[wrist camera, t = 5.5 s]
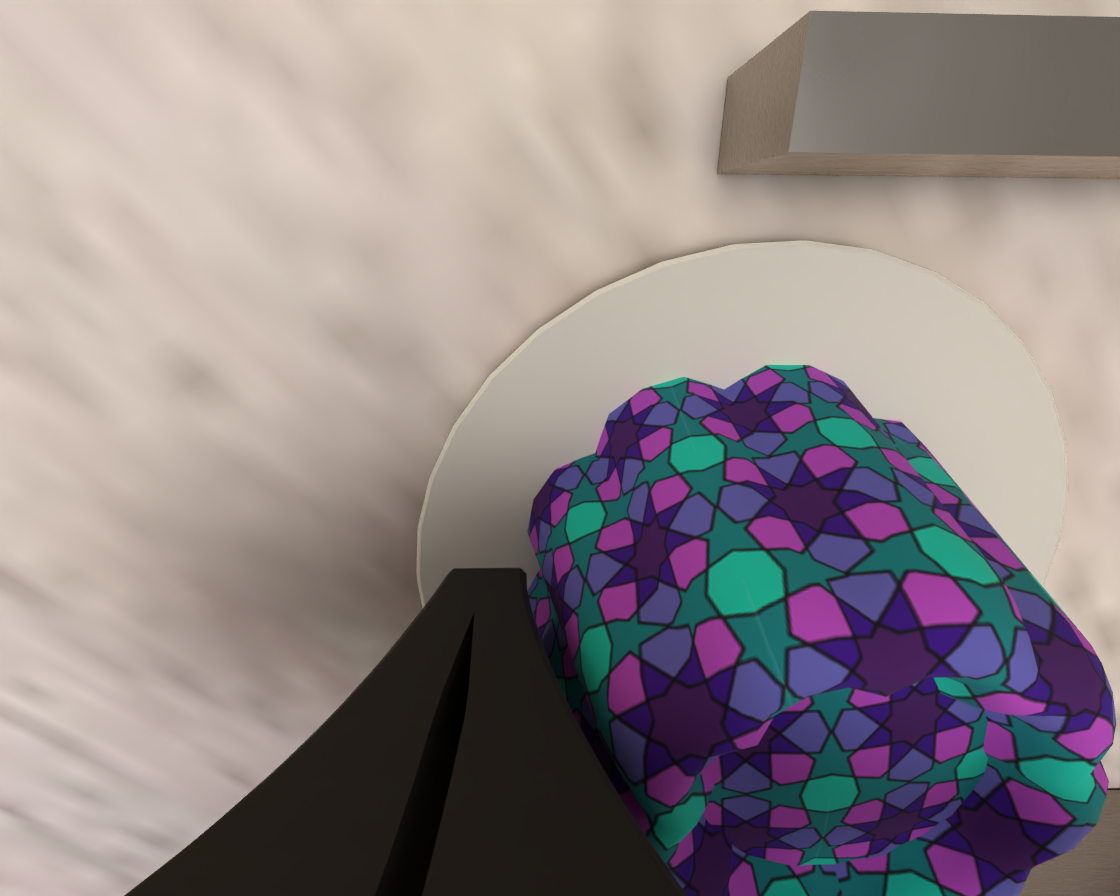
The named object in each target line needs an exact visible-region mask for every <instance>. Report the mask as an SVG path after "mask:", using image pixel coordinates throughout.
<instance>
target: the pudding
mask: <svg viewBox="0 0 1120 896" xmlns="http://www.w3.org/2000/svg"><path fill="white" fill-rule="evenodd" d="M1067 494H1068V478H1067V457H1066V439H1065V436H1064V432H1063V429H1062V425H1061V422H1060V418H1059V415H1058V411H1057V408H1056V404H1055V401H1054V397H1053V394H1052V391H1051V389H1050V387H1049V385H1048V384H1047V382H1046V380H1045V379H1044V377H1043V375H1042V373H1041V372H1040V370H1039V368H1038V366H1037V365H1036V363H1035V361H1034V359H1033V358H1032V356H1031V354H1030V352H1029V351H1028V349H1027V347H1026V345H1025V344H1024V343H1023V342H1022V341H1021V340H1020V339H1019V338H1018V337H1017V336H1016V335H1015V334H1014V333H1013V332H1012V331H1011V330H1010V329H1009V328H1008V326H1007V325H1006V324H1005V323H1004V322H1003V321H1002V320H1001V319H1000V318H999V317H998V316H997V315H996V314H995V313H994V312H993V311H992V310H991V309H990V308H989V307H988V306H987V305H986V304H985V303H983V302H982V301H980V300H979V299H977V298H976V297H974V296H972V295H971V294H969V293H968V292H966V291H965V290H963V289H961V288H960V287H958V286H957V285H955V284H954V283H952V282H950V281H949V280H947V279H946V278H944V277H943V276H941V275H939V274H938V273H936V272H935V271H932V270H929V269H926V268H923V267H921V266H918V265H915V264H912V263H909V262H907V261H904V260H901V259H898V258H895V257H893V256H890V255H887V254H884V253H881V252H879V251H876V250H872V249H865V248H858V247H851V246H843V245H836V244H829V243H821V242H814V241H807V240H801V241H783V242H765V243H747V244H732V245H728V246H724V247H720V248H716V249H712V250H708V251H703V252H699V253H695V254H691V255H687V256H683V257H679V258H674V259H670V260H666V261H662V262H660V263H658V264H655V265H653V266H651V267H648V268H646V269H644V270H642V271H639V272H637V273H635V274H632V275H630V276H628V277H626V278H623V279H621V280H619V281H616V282H614V283H612V284H610V285H607V286H605V287H603V288H600V289H598V290H596V291H594V292H593V293H591V294H590V295H588V296H587V297H585V298H584V299H582V300H581V301H579V302H578V303H576V304H575V305H573V306H572V307H570V308H569V309H567V310H566V311H564V312H563V313H561V314H560V315H558V316H557V317H555V318H554V319H552V320H551V321H549V322H548V323H546V324H545V325H543V326H542V327H540V328H539V329H537V330H536V331H535V332H534V333H533V334H532V335H531V336H530V337H529V338H528V339H527V340H526V341H525V342H524V343H523V344H522V345H521V346H520V347H518V348H517V349H516V350H515V351H514V352H513V353H512V354H511V355H510V356H509V357H508V358H507V359H506V360H505V361H504V362H503V363H502V364H501V365H500V366H499V367H498V368H497V369H496V370H494V371H493V372H492V373H491V374H490V375H489V377H488V378H487V379H486V381H485V382H484V384H483V385H482V386H481V388H480V389H479V391H478V392H477V393H476V395H475V396H474V397H473V399H472V400H471V402H470V403H469V404H468V406H467V407H466V409H465V410H464V411H463V413H462V414H461V416H460V417H459V418H458V420H457V421H456V422H455V424H454V425H453V427H452V430H451V432H450V434H449V436H448V438H447V440H446V443H445V445H444V447H443V449H442V451H441V453H440V456H439V458H438V460H437V462H436V464H435V466H434V469H433V471H432V473H431V475H430V477H429V481H428V486H427V490H426V494H425V498H424V503H423V507H422V511H421V515H420V520H419V524H418V528H417V568H416V578H417V583H418V589H419V594H420V599H421V605H422V609H423V608H424V606H425V605H426V604H427V602H428V601H429V600H430V598H431V597H432V595H433V594H434V593H435V591H436V590H437V588H438V587H439V586H440V584H441V583H442V581H443V580H444V578H445V577H446V576H447V574H448V573H449V572H450V571H451V570H453V569H454V568H521V569H522V570H523V571H524V572H525V573H527V591H528V596H529V601H530V605H531V609H532V613H533V616H534V620H535V623H536V626H537V629H538V632H539V635H540V638H541V640H542V643H543V646H544V648H545V651H546V653H547V656H548V659H549V661H550V664H551V666H552V669H553V671H554V673H555V676H556V678H557V680H558V682H559V685H560V687H561V689H562V691H563V693H564V695H565V697H566V700H567V702H568V704H569V706H570V708H571V710H572V712H573V714H574V716H575V718H576V720H577V722H578V724H579V726H580V728H581V730H582V731H583V733H584V735H585V737H586V739H587V741H588V743H589V744H590V746H591V748H592V750H593V751H594V753H595V755H596V757H597V759H598V760H599V762H600V764H601V766H602V767H603V769H604V771H605V772H606V774H607V776H608V777H609V779H610V781H611V782H612V784H613V786H614V787H615V789H616V790H617V792H618V794H619V795H620V797H621V799H622V800H623V802H624V804H625V805H626V807H627V808H628V810H629V811H630V813H631V814H632V816H633V817H634V819H635V820H636V822H637V823H638V824H639V826H640V827H641V829H642V830H643V832H644V833H645V835H646V836H647V838H648V839H649V841H650V842H651V844H652V845H653V847H654V848H655V850H656V851H657V852H658V854H659V855H660V857H661V858H662V860H663V861H664V863H665V864H666V866H667V867H668V869H669V870H670V872H671V873H672V875H673V876H674V878H675V879H676V880H677V882H678V883H679V885H680V886H681V887H682V889H683V890H684V891H685V893H686V894H687V895H688V896H1017V895H1018V894H1020V893H1021V891H1022V888H1023V886H1024V884H1025V882H1026V880H1027V878H1028V875H1029V873H1030V871H1031V869H1032V868H1034V867H1036V866H1038V865H1040V864H1042V863H1045V862H1047V861H1049V860H1051V859H1053V858H1055V857H1058V856H1060V855H1062V854H1064V853H1066V852H1068V851H1071V850H1073V849H1074V848H1075V847H1076V845H1077V844H1078V843H1079V842H1080V841H1081V840H1082V839H1083V838H1084V837H1085V836H1086V835H1087V834H1088V833H1089V832H1090V831H1091V830H1092V829H1093V828H1094V827H1095V826H1096V825H1097V822H1098V819H1099V816H1100V813H1101V811H1102V808H1103V805H1104V802H1105V799H1106V795H1107V789H1108V783H1109V781H1108V778H1107V776H1106V773H1105V771H1104V768H1103V766H1102V763H1101V761H1100V760H1101V759H1102V758H1103V756H1104V755H1105V754H1106V752H1107V751H1108V750H1109V748H1110V747H1111V746H1112V744H1113V739H1114V733H1115V727H1116V718H1115V709H1114V700H1113V692H1112V689H1111V687H1110V684H1109V682H1108V679H1107V676H1106V674H1105V671H1104V668H1103V666H1102V663H1101V662H1100V660H1099V658H1098V656H1097V654H1096V653H1095V651H1094V649H1093V647H1092V645H1091V644H1090V643H1089V642H1088V641H1087V639H1086V638H1085V637H1084V636H1083V635H1082V633H1081V632H1080V631H1079V630H1078V629H1077V627H1076V626H1075V625H1074V624H1073V623H1072V621H1071V620H1070V619H1069V618H1068V617H1067V615H1066V614H1065V613H1064V612H1063V611H1062V609H1061V608H1060V607H1059V606H1058V605H1057V603H1056V602H1055V601H1054V600H1053V599H1052V597H1051V596H1050V595H1049V594H1048V593H1047V591H1046V590H1045V589H1044V588H1043V587H1042V586H1043V584H1044V581H1045V578H1046V576H1047V573H1048V570H1049V568H1050V565H1051V562H1052V559H1053V557H1054V554H1055V551H1056V549H1057V546H1058V543H1059V540H1060V536H1061V530H1062V524H1063V518H1064V512H1065V506H1066V500H1067Z"/></svg>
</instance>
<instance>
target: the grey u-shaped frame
mask: <svg viewBox="0 0 1120 896" xmlns="http://www.w3.org/2000/svg"><path fill="white" fill-rule="evenodd" d="M717 174H789V175H872V176H956V177H1039V178H1120V17H1085V16H1036V15H987V14H938V13H890V12H841V11H810V12H808V13H807V14H806V15H805V16H803V17H802V18H801V19H800V20H798V21H797V22H796V23H795V24H794V25H792V26H791V27H790V28H789V29H787V30H786V31H785V32H784V33H782V34H781V35H780V36H779V37H777V38H776V39H775V40H774V41H773V42H771V43H770V44H769V45H768V46H766V47H765V48H764V49H763V50H761V51H760V52H759V53H758V54H756V55H755V56H754V57H753V58H752V59H750V60H749V61H748V62H747V63H745V64H744V65H743V66H742V67H740V68H739V69H738V70H737V71H735V72H734V73H733V74H732V75H731V76H729V77H728V83H727V92H726V101H725V110H724V119H723V128H722V137H721V146H720V155H719V164H718V173H717ZM1017 896H1120V790H1107V795H1106V799H1105V802H1104V805H1103V808H1102V811H1101V813H1100V816H1099V819H1098V822H1097V825H1096V826H1095V827H1094V828H1093V829H1092V830H1091V831H1090V832H1089V833H1088V834H1087V835H1086V836H1085V837H1084V838H1083V839H1082V840H1081V841H1080V842H1079V843H1078V844H1077V845H1076V847H1075V848H1074V849H1073V850H1071V851H1068V852H1066V853H1064V854H1062V855H1060V856H1058V857H1055V858H1053V859H1051V860H1049V861H1047V862H1045V863H1042V864H1040V865H1038V866H1036V867H1034V868H1032V869H1031V871H1030V873H1029V875H1028V878H1027V880H1026V882H1025V884H1024V886H1023V888H1022V891H1021V893H1020V894H1018V895H1017Z"/></svg>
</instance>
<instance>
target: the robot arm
mask: <svg viewBox="0 0 1120 896" xmlns="http://www.w3.org/2000/svg"><path fill="white" fill-rule="evenodd" d="M125 896H688V895H687V894H686V893H685V891H684V890H683V889H682V887H681V886H680V885H679V883H678V882H677V880H676V879H675V878H674V876H673V875H672V873H671V872H670V870H669V869H668V867H667V866H666V864H665V863H664V861H663V860H662V858H661V857H660V855H659V854H658V852H657V851H656V850H655V848H654V847H653V845H652V844H651V842H650V841H649V839H648V838H647V836H646V835H645V833H644V832H643V830H642V829H641V827H640V826H639V824H638V823H637V822H636V820H635V819H634V817H633V816H632V814H631V813H630V811H629V810H628V808H627V807H626V805H625V804H624V802H623V800H622V799H621V797H620V795H619V794H618V792H617V790H616V789H615V787H614V786H613V784H612V782H611V781H610V779H609V777H608V776H607V774H606V772H605V771H604V769H603V767H602V766H601V764H600V762H599V760H598V759H597V757H596V755H595V753H594V751H593V750H592V748H591V746H590V744H589V743H588V741H587V739H586V737H585V735H584V733H583V731H582V730H581V728H580V726H579V724H578V722H577V720H576V718H575V716H574V714H573V712H572V710H571V708H570V706H569V704H568V702H567V700H566V697H565V695H564V693H563V691H562V689H561V687H560V685H559V682H558V680H557V678H556V676H555V673H554V671H553V669H552V666H551V664H550V661H549V659H548V656H547V653H546V651H545V648H544V646H543V643H542V640H541V638H540V635H539V632H538V629H537V626H536V623H535V620H534V616H533V613H532V609H531V605H530V601H529V596H528V591H527V573H525V572H524V571H523V570H522V569H521V568H454V569H453V570H451V571H450V572H449V573H448V574H447V576H446V577H445V578H444V580H443V581H442V583H441V584H440V586H439V587H438V588H437V590H436V591H435V593H434V594H433V595H432V597H431V598H430V600H429V601H428V602H427V604H426V605H425V606H424V608H423V609H422V610H421V612H420V613H419V614H418V616H417V617H416V618H415V620H414V621H413V622H412V623H411V625H410V626H409V627H408V628H407V630H406V631H405V632H404V633H403V635H402V636H401V637H400V638H399V639H398V641H397V642H396V643H395V644H394V646H393V647H392V648H391V649H390V651H389V652H388V653H387V654H386V655H385V657H384V658H383V659H382V660H381V661H380V663H379V664H378V665H377V666H376V667H375V668H374V669H373V670H372V672H371V673H370V674H369V675H368V676H367V677H366V678H365V679H364V680H363V682H362V683H361V684H360V685H359V686H358V687H357V688H356V689H355V690H354V691H353V693H352V694H351V695H350V696H349V697H348V698H347V699H346V700H345V701H344V703H343V704H342V705H341V706H340V707H339V708H338V709H337V710H336V711H335V712H334V713H333V714H332V715H331V716H330V717H329V718H328V719H327V720H326V721H325V722H324V723H323V724H322V725H321V726H320V727H319V728H318V729H317V730H316V731H315V732H314V733H313V734H312V735H311V736H310V737H309V738H308V739H307V740H306V741H305V742H304V743H303V744H302V745H301V746H300V747H299V748H298V749H297V750H296V751H295V752H294V753H293V754H292V755H291V756H290V757H289V758H288V759H286V760H285V761H284V762H283V763H282V764H281V765H280V766H279V767H278V768H277V769H276V770H275V771H274V772H273V773H271V774H270V775H269V776H268V777H267V778H266V779H265V780H264V781H262V782H261V783H260V784H259V785H258V786H257V787H256V788H255V789H253V790H252V791H251V792H250V793H249V794H248V795H247V796H245V797H244V798H243V799H242V800H241V801H240V802H239V803H238V804H236V805H235V806H234V807H233V808H232V809H231V810H230V811H229V812H227V813H226V814H225V815H224V816H223V817H222V818H221V819H219V820H218V821H217V822H216V823H215V824H213V825H212V826H211V827H210V828H209V829H207V830H206V831H205V832H204V833H203V834H202V835H200V836H199V837H198V838H197V839H196V840H194V841H193V842H192V843H191V844H189V845H188V846H187V847H186V848H185V849H183V850H182V851H181V852H180V853H178V854H177V855H176V856H175V857H173V858H172V859H171V860H169V861H168V862H167V863H166V864H164V865H163V866H162V867H161V868H159V869H158V870H157V871H155V872H154V873H153V874H152V875H150V876H149V877H148V878H146V879H145V880H144V881H143V882H141V883H140V884H139V885H137V886H136V887H135V888H134V889H132V890H131V891H130V892H128V893H127V894H126V895H125Z"/></svg>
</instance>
